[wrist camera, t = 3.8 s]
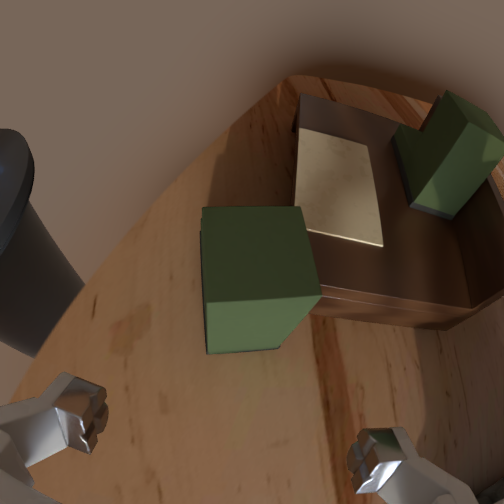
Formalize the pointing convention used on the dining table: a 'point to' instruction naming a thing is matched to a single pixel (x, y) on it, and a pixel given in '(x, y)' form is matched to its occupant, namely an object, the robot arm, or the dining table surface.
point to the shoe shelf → (388, 227)
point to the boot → (255, 276)
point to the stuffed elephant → (492, 493)
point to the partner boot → (447, 156)
